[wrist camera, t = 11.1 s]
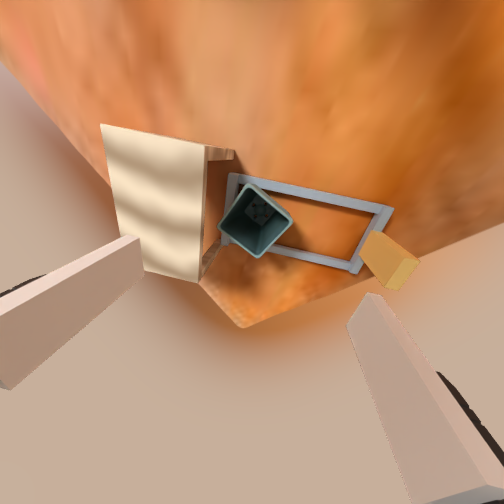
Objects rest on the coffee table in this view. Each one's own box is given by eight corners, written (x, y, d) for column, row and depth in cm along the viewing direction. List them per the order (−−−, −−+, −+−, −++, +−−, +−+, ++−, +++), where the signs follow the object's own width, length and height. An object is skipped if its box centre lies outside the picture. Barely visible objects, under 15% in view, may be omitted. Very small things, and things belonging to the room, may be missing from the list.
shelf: (168, 136, 32) (99, 123, 20) (234, 149, 31) (204, 145, 19) (171, 233, 41) (126, 265, 29) (223, 245, 41) (198, 283, 29)
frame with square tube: (232, 171, 33) (209, 179, 22) (390, 205, 32) (443, 230, 21) (224, 238, 39) (203, 268, 29) (354, 269, 38) (382, 312, 28)
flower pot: (229, 212, 37) (214, 227, 29) (256, 175, 33) (247, 181, 25) (263, 239, 38) (257, 260, 30) (292, 206, 34) (295, 221, 27)
